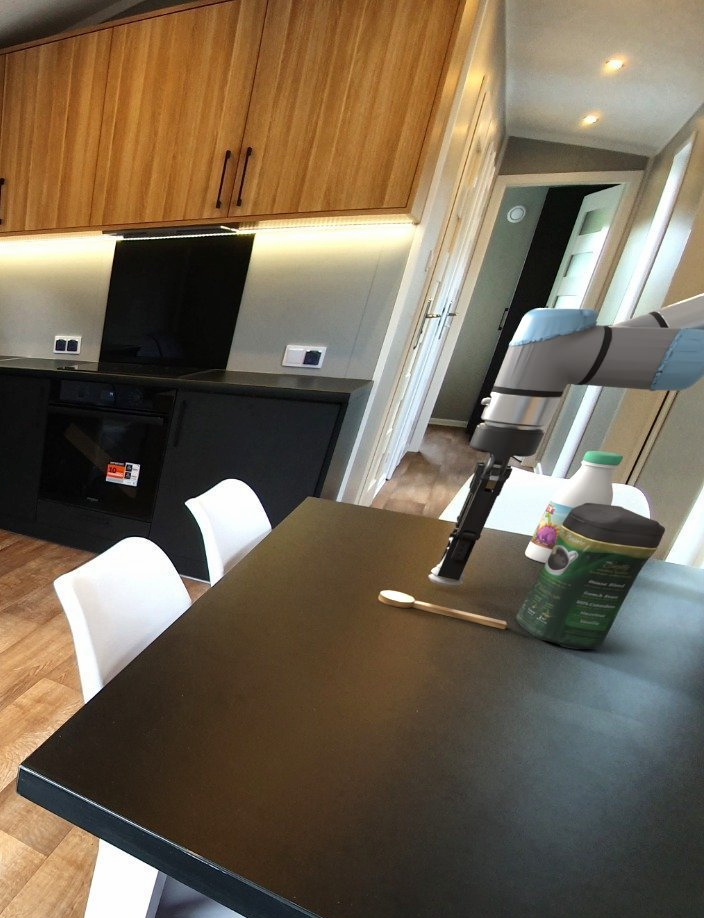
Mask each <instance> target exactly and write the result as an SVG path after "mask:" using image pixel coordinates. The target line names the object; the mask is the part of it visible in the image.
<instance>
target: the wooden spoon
mask: <svg viewBox="0 0 704 918" xmlns="http://www.w3.org/2000/svg"><path fill="white" fill-rule="evenodd" d="M378 600H379V601H380V602H381V603H382V604H383V603H384V604H386V605H388V606H392V607H395V608H401V609H410V608H413V609H417V610H421V611H426V612H429V613H434V614H438V615H442V616H447V617H450V618H454V619H458V620H463V621H467V622H471V623H476V624H480V625H483V626H488V627H492V628H497V629H500V630H506V628H507V626H508V624H507V623H508V622H507V621H505V620H501V619H497V618H492V617H488V616H484V615H480V614H475V613H471V612H467V611H463V610H458V609H454V608H451V607H450V608H449V607H446V606H441V605H436V604H433V603H428V602H424V601H419V600H416V599H415V598H414V597H413V596H412V595H409V594H406V593H403V592H400V591H397V590H396V591H395V590H382V591H380V592H379V595H378Z"/></svg>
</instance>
